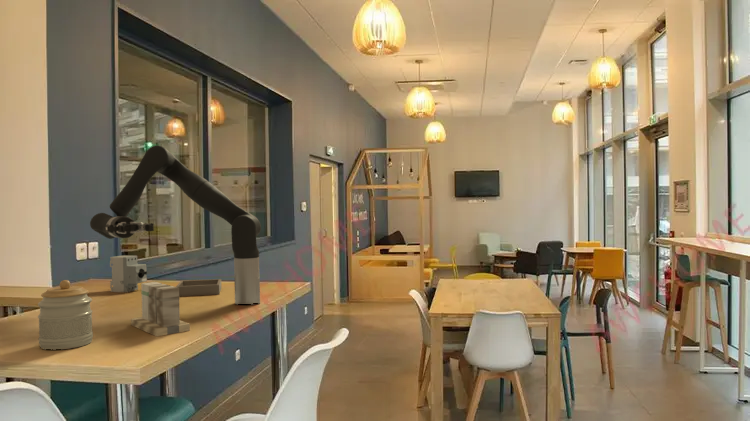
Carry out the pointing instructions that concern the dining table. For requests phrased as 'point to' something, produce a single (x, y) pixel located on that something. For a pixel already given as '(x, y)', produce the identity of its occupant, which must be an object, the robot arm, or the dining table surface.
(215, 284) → the coaster tray
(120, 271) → the circuit breaker
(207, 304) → the dining table surface
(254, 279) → the robot arm
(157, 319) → the grey marble bookend
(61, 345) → the jar
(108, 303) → the dining table surface
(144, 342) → the dining table surface
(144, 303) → the block
